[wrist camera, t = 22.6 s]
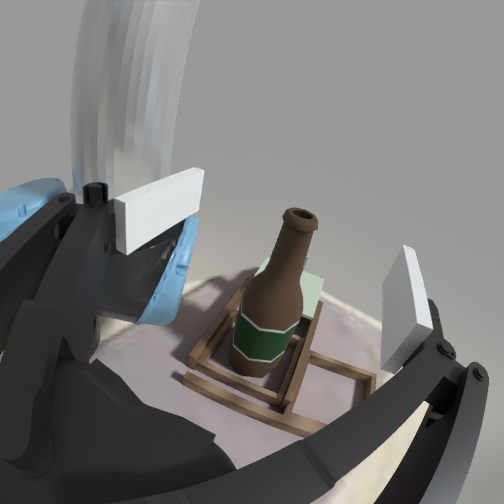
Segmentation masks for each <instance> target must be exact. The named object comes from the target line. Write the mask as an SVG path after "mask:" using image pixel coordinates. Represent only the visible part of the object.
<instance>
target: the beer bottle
mask: <svg viewBox="0 0 504 504" xmlns="http://www.w3.org/2000/svg"><path fill="white" fill-rule="evenodd" d="M283 221H284V223H283V225H282V228H281V231H280V234H279V237H278V239H277V242H276V244H275V247H274V250H273V252H272V255H271V258H270V260H269V262H268V264H267V266H266V267H265V269H264V271H262V272H260V273H259V274H257V275H256V276H254V277H253V278H252V279H251V280H250V282H249V283H248V284H247V285H246V288H245V290H244V293H243V296H242V299H241V303H240V307H239V311H238V315H237V319H236V323H235V327H234V331H233V334H232V338H231V344H230V354H229V363H230V364H231V365H232V366H233V367H234V368H235V369H236V370H237V371H238V372H239V373H240V374H241V375H242V376H249V377H259V378H263V377H264V376H265V375H267V374H268V373H269V372H271V371H272V370H273V369H274V368H276V366H277V365H278V363H279V362H280V360H281V358H282V356H283V354H284V352H285V350H286V348H287V346H288V344H289V342H290V340H291V337H292V335H293V333H294V331H295V329H296V327H297V325H298V323H299V321H300V318H301V315H302V312H303V294H302V290H301V285H300V278H301V272H302V269H303V265H304V262H305V259H306V255H307V252H308V248H309V245H310V241H311V238H312V234H313V231H315V230H317V229H318V220H317V218H316V216H315V215H314V214H312V213H310V212H308V211H307V210H304V209H300V208H290V209H287V210H286V211H285V213H284V214H283Z"/></svg>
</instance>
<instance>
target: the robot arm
mask: <svg viewBox="0 0 504 504" xmlns="http://www.w3.org/2000/svg"><path fill="white" fill-rule="evenodd" d="M199 2H200V0H86V1H85V4H84V9H83V13H82V18H81V22H80V27H79V33H78V38H77V44H76V52H75V59H74V67H73V78H72V91H71V115H70V117H71V118H70V119H71V120H70V137H71V138H70V139H71V162H72V175H73V186H72V188H71V189H70V190H69V191H68V192H67V189H66V188H65V185H64V183H63V182H62V181H61V180H60V179H57V178H43V179H38V180H33V181H30V182H26V183H23V184H21V185H18V186H16V187H13V188H11V189H9V190H8V191H6V192H4V193H2V194H1V195H0V354H1V353H2V352H3V350H4V353H3V356H2V360H1V363H0V504H310V503H311V502H313V501H315V500H316V499H318V498H319V497H321V496H322V495H324V494H325V493H326V492H328V491H329V490H330V489H332V488H333V487H334V486H335V483H336V482H337V481H338V480H339V479H340V478H342V477H343V476H344V475H346V474H347V473H348V472H350V471H351V470H352V469H353V468H355V467H356V466H357V465H358V464H360V463H361V462H362V461H363V460H364V459H366V458H367V457H368V456H369V455H370V454H372V453H373V452H374V451H375V450H376V449H377V448H378V447H379V446H380V445H382V444H383V443H384V442H385V441H386V440H387V439H388V438H389V437H390V436H391V435H392V434H393V433H394V432H395V431H396V430H397V429H398V428H399V427H400V426H401V425H402V424H403V423H404V422H405V421H406V420H407V419H408V418H409V417H410V416H411V415H412V414H413V412H414V411H415V410H416V409H417V408H418V407H419V406H420V405H421V403H422V402H423V401H426V402H427V403H429V407H428V409H427V411H426V414H425V416H424V418H423V420H422V422H421V425H420V427H419V429H418V431H417V433H416V435H415V437H414V439H413V441H412V443H411V445H410V447H409V448H408V450H407V452H406V454H405V456H404V457H403V459H402V461H401V463H400V464H399V466H398V468H397V469H396V471H395V473H394V474H393V476H392V477H391V479H390V481H389V482H388V484H387V485H386V487H385V488H384V490H383V491H382V493H381V494H380V495H379V497H378V498H377V500H376V501H375V502H374V504H455V503H456V501H457V499H458V497H459V494H460V492H461V489H462V487H463V484H464V482H465V479H466V476H467V474H468V471H469V468H470V465H471V462H472V459H473V455H474V452H475V448H476V445H477V441H478V438H479V434H480V429H481V425H482V421H483V416H484V411H485V405H486V399H487V393H488V385H489V377H488V374H487V371H486V370H485V368H484V367H483V366H482V365H480V364H479V363H477V362H472V363H470V364H469V366H468V367H467V368H465V367H464V366H462V365H461V364H459V363H458V362H457V361H455V359H456V352H455V350H454V348H453V347H452V346H451V344H450V343H449V342H447V341H446V340H445V339H444V337H443V332H442V327H441V323H440V318H439V313H438V309H437V307H436V305H435V304H434V302H433V301H432V300H430V299H428V298H427V296H426V292H425V287H424V283H423V279H422V275H421V272H420V268H419V264H418V261H417V257H416V254H415V251H414V249H412V248H409V247H407V246H405V245H402V247H401V249H400V251H399V253H398V255H397V257H396V259H395V261H394V263H393V265H392V267H391V269H390V271H389V273H388V274H387V276H386V278H385V280H384V282H383V284H382V289H383V318H382V346H381V362H380V369H381V370H384V371H387V372H390V373H393V374H395V373H396V372H397V371H398V370H399V369H400V368H401V367H402V366H403V368H402V369H401V370H400V371H399V372H398V373H397V374H396V375H394V376H393V377H392V378H391V379H390V380H388V381H387V382H386V383H385V384H384V385H382V386H381V387H380V388H379V389H377V390H376V391H375V392H373V393H372V394H371V395H370V396H368V397H367V398H366V399H364V400H363V401H362V402H360V403H359V404H358V405H356V406H355V407H353V408H352V409H351V410H349V411H348V412H346V413H345V414H343V415H342V416H340V417H339V418H337V419H336V420H334V421H333V422H331V423H330V424H328V425H327V426H325V427H324V428H322V429H320V430H319V431H317V432H315V433H314V434H312V435H310V436H309V437H307V438H305V439H303V440H299V441H296V442H294V443H292V444H290V445H288V446H286V447H284V448H283V449H281V450H279V451H277V452H275V453H273V454H271V455H269V456H267V457H265V458H262V459H260V460H258V461H256V462H254V463H251V464H249V465H247V466H245V467H242V468H240V469H238V470H237V469H236V467H235V466H234V464H233V462H232V461H231V459H230V458H229V457H228V456H227V454H226V453H225V452H224V451H223V450H222V449H221V448H220V447H219V446H218V445H216V444H215V443H214V442H213V441H214V438H215V436H216V435H215V434H213V433H211V432H209V431H207V430H206V429H204V428H202V427H200V426H198V425H196V424H194V423H192V422H190V421H189V420H187V419H185V418H183V417H181V416H178V415H175V414H171V413H168V412H165V411H162V410H159V409H157V408H154V407H151V406H148V405H146V404H144V403H143V402H142V401H141V400H140V399H139V398H138V397H137V396H136V395H135V394H134V392H133V391H132V390H131V389H130V388H129V387H128V385H127V384H126V383H125V382H124V381H123V379H122V378H121V377H120V376H119V375H117V374H116V373H115V372H113V371H112V370H111V369H109V368H108V367H107V366H105V365H104V364H103V363H102V362H100V361H99V360H98V359H97V358H96V359H95V360H94V361H93V362H92V363H91V364H89V359H90V357H91V356H92V355H93V353H94V352H95V350H96V348H97V346H98V343H99V339H100V327H99V322H98V318H97V315H96V314H98V315H102V316H106V317H110V318H115V319H119V320H123V321H128V322H132V323H134V324H137V325H138V324H141V323H143V324H151V325H158V326H164V325H167V324H169V323H171V322H172V321H173V320H174V319H175V317H176V315H177V312H178V308H179V304H180V300H181V296H182V292H183V287H184V283H185V278H186V273H187V270H188V266H189V262H190V259H191V255H192V251H193V247H194V243H195V239H196V234H197V230H198V226H199V220H198V218H197V217H195V216H192V214H193V213H195V212H197V211H198V210H199V205H200V197H201V191H202V183H203V177H204V170H201V169H198V168H195V167H194V168H191V169H188V170H185V171H182V172H179V173H177V174H174V175H171V176H170V166H171V156H172V146H173V137H174V129H175V122H176V115H177V108H178V101H179V95H180V89H181V83H182V77H183V71H184V67H185V62H186V57H187V52H188V47H189V42H190V37H191V33H192V29H193V25H194V21H195V17H196V13H197V9H198V5H199Z"/></svg>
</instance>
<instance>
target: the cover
mask: <svg viewBox="0 0 504 504" xmlns="http://www.w3.org/2000/svg"><path fill="white" fill-rule="evenodd" d="M307 259H308V258H307V257H306V259H305V262H304V265H303V269H302V272H301V278H300V285H301V290H302V294H303V312H302V315H301V316H302V317H305V318H307V319H310V320H312V319H313V316H314V313H315V310H316V307H317V303H318V300H319V297H320V293H321V290H322V286H323V283H324V279H322V278H320V277H317V276H315V275H312V274H310V273H307V272H305V271H303V270H304V267H305V265H306V262H307ZM269 260H270V257H267V259H266V260H265V261H264V263H263V264H262V265H261V267H260V268H259V270H258V271H257V272H256V274H255V275H254V276H256V275H257V274H259V273H260V272H262V271H264V269H265V267H266V266H267V264H268V262H269ZM244 290H245V289H244Z"/></svg>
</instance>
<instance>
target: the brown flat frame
mask: <svg viewBox="0 0 504 504" xmlns="http://www.w3.org/2000/svg"><path fill="white" fill-rule="evenodd" d="M253 277H254V274H252V273H250V275H249V276H248V277H247V279H246V280H245V281H244V283H243V284H242V285H241V287H240V288H239V289H238V291H237V292H236V293H235V295H234V296H233V297H232V299H231V300H230V301H229V302H228V304H227V305H226V306H225V308H224V309H223V310H222V312H221V313H220V314H219V316H218V317H217V318H216V320H215V321H214V322H213V324H212V325H211V326H210V327H209V329H208V330H207V331H206V333H205V334H204V335H203V337H202V338H201V339H200V341H199V342H198V343H197V344H196V346H195V347H194V348H193V350H192V351H191V352H190V354H189V356H188V367H189V368H191V369H193V370H194V369H196V370H198V371H200V372H202V373H203V374H205V375H207V376H209V377H211V378H213V379H215V380H218V381H220V382H222V383H224V384H226V385H228V386H230V387H232V388H234V389H237V390H239V391H241V392H243V393H246V394H248V395H250V396H253V397H255V398H257V399H260V400H262V401H264V402H267V403H269V404H272V405H274V406H277V407H278V406H279V407H278V408H279V409H281V410H283V413H282V414H280V413H278V412H275V411H272V410H270V409H267V408H265V407H262V406H260V405H258V404H255V403H253V402H251V401H248V400H246V399H244V398H241V397H239V396H237V395H235V394H233V393H230V392H228V391H226V390H224V389H222V388H220V387H218V386H216V385H214V384H212V383H210V382H208V381H206V380H204V379H202V378H200V377H198V376H196V375H194V374H192V373H190V372H188V371H187V373H186V374H185V375H184V377H183V385H185V386H186V387H188V388H190V389H192V390H194V391H196V392H198V393H200V394H202V395H204V396H206V397H208V398H210V399H212V400H214V401H216V402H218V403H220V404H222V405H224V406H226V407H228V408H230V409H233V410H235V411H237V412H239V413H242V414H244V415H246V416H249V417H251V418H253V419H256V420H258V421H261V422H263V423H266V424H268V425H271V426H273V427H276V428H279V429H281V430H284V431H287V432H290V433H293V434H296V435H299V436H302V437H305V438H307V437H309V436H310V435H312V434H314V433H315V432H317V431H319V430H320V429H322V428H324V427H325V426H327V425H328V424H325V423H321V422H318V421H315V420H312V419H309V418H306V417H303V416H301V415H298V414H295V413H292V409H293V406H294V404H295V401H296V398H297V395H298V392H299V389H300V386H301V383H302V380H303V377H304V374H305V371H306V368H307V365H308V363H311V364H313V365H316V366H319V367H321V368H324V369H327V370H330V371H332V372H335V373H338V374H341V375H344V376H347V377H349V378H352V379H355V380H358V381H361V382H364V383H366V388H365V396H364V399H366V398H367V397H368V396H370V395H371V394H372V393H373V392H375V387H376V375H377V374H375V373H372V372H369V371H366V370H363V369H360V368H357V367H354V366H351V365H348V364H346V363H343V362H340V361H337V360H335V359H332V358H329V357H326V356H324V355H321V354H318V353H316V352H313V351H311V350H309V349H310V346H311V343H312V340H313V336H314V333H315V330H316V326H317V323H318V319H319V316H320V312H321V309H322V305H323V302H321V301H319V300H318V303H317V307H316V310H315V313H314V316H313V319H312V320H310V322H309V326H308V329H307V332H306V334H305V337H304V338H302V337H299V336H297V335H294V334H293V335H292V337H291V340H290V342H289V344H288V345H290V346H292V347H295V350H294V352H293V355H292V358H291V360H290V363H289V365H288V368H287V370H286V373H285V376H284V378H283V381H282V383H281V385H280V388H279V390H278V393H275V392H272V391H270V390H268V389H265V388H263V387H260V386H258V385H256V384H253V383H251V382H249V381H246V380H244V379H242V378H240V377H238V376H235V375H233V374H231V373H229V372H227V371H225V370H223V369H221V368H218V367H216V366H214V365H212V364H210V363H208V362H207V361H208V360H209V358H210V357H211V355H212V354H213V352H214V351H215V350H216V348H217V347H218V345H219V344H220V342H221V341H222V339H223V338H224V336H225V335H226V333H227V332H228V330H229V329H230V328H231V326H232V325H233V323H234V322H236V319H237V315H238V310H237V308H238V307H239V305H240V303H241V299H242V296H243V293H244V289H245V288H246V285H247V284H248V283H249V282H250V280H251V279H252V278H253ZM279 404H280V405H279Z"/></svg>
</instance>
